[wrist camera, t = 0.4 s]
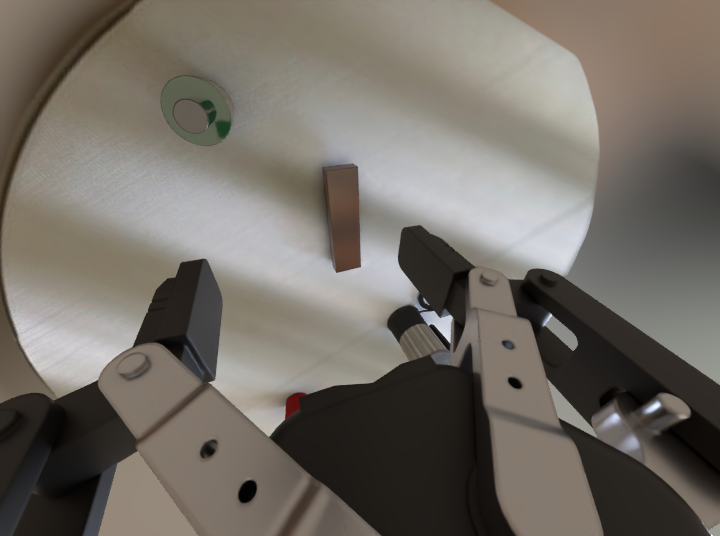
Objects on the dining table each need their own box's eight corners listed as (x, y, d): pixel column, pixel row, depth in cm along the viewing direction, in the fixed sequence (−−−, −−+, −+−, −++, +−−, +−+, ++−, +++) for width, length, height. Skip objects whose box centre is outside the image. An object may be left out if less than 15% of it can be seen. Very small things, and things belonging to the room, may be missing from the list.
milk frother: (383, 334, 68) (411, 383, 57) (395, 287, 60) (431, 333, 48) (427, 324, 73) (461, 368, 62) (444, 280, 65) (487, 321, 54)
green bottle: (173, 79, 28) (130, 74, 17) (225, 78, 30) (216, 72, 19) (193, 133, 31) (167, 157, 21) (239, 130, 33) (238, 150, 22)
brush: (319, 164, 39) (326, 170, 36) (349, 161, 40) (358, 166, 37) (330, 262, 49) (336, 273, 46) (354, 256, 50) (360, 267, 48)
